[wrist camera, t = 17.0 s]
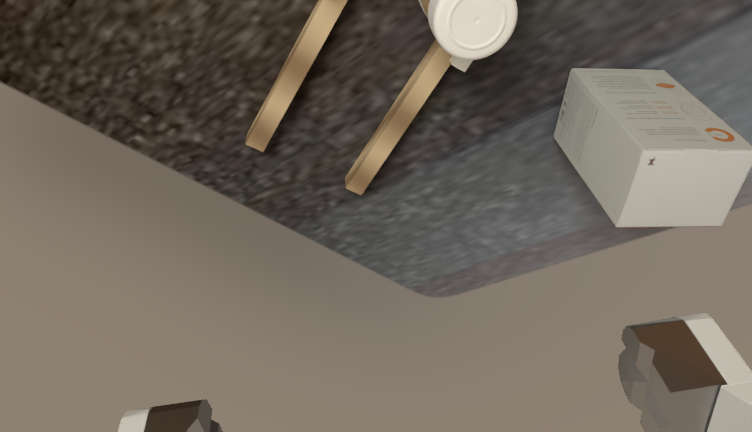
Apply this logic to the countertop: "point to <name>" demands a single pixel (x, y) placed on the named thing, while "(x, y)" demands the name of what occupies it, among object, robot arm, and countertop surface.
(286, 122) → the countertop surface
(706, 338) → the robot arm
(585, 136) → the small box
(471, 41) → the sprinkles bottle
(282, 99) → the oak slot
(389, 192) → the countertop surface
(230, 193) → the countertop surface
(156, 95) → the countertop surface
